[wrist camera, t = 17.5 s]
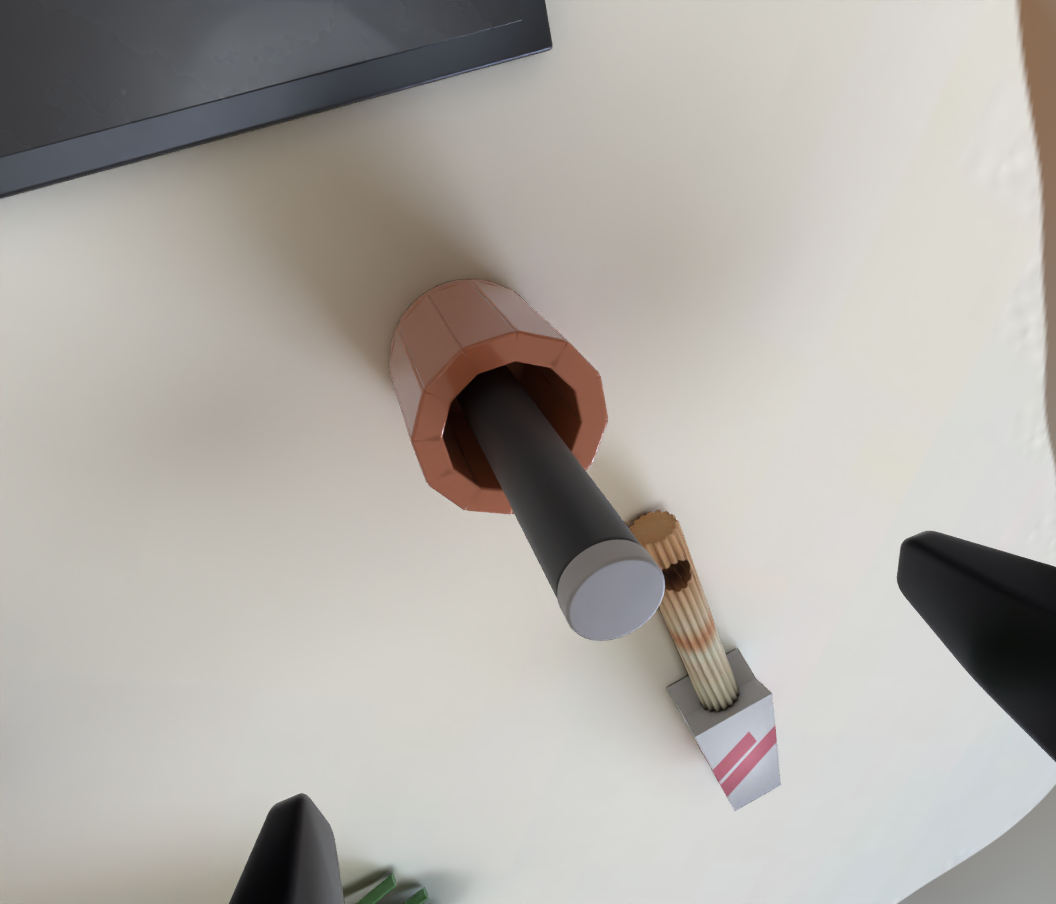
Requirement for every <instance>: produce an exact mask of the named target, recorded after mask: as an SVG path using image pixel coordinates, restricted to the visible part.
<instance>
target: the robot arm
mask: <svg viewBox="0 0 1056 904" xmlns="http://www.w3.org/2000/svg"><path fill="white" fill-rule="evenodd" d="M897 582H898V586H899V588H900V590H901V592H902V593H903V595H904V596H905V597H906V599H907V600H908V601H909V602H910V603H911V605H912V606H913V607H914V608H915V610H916V611H917V612H918V613H919V614H920V616H921V617H922V618H923V619H924V620H925V622H926V623H927V624H928V625H929V626H930V628H931V629H932V630H933V631H934V632H935V634H936V635H937V636H938V637H939V638H940V640H941V641H942V642H943V643H944V645H945V646H946V647H947V648H948V649H949V651H950V652H951V653H952V654H953V655H954V657H955V658H956V659H957V660H958V661H959V663H960V664H961V665H962V666H963V667H964V669H965V670H966V671H967V672H968V673H969V674H970V675H971V676H972V678H973V679H974V680H975V681H976V682H977V683H978V684H979V685H980V686H981V687H982V688H983V689H984V690H985V691H986V692H987V694H988V695H989V696H990V697H991V698H992V699H993V700H994V701H995V702H996V703H997V704H998V705H999V706H1000V707H1001V708H1002V709H1003V710H1004V711H1005V712H1006V713H1007V714H1008V715H1009V716H1010V717H1011V718H1012V719H1013V720H1014V721H1015V722H1016V723H1017V724H1018V725H1019V726H1020V727H1021V728H1022V729H1023V730H1024V731H1025V732H1026V733H1027V734H1028V735H1029V736H1030V737H1031V738H1032V739H1033V740H1034V741H1035V742H1036V743H1037V744H1038V745H1039V746H1040V747H1041V748H1042V749H1043V750H1044V751H1045V752H1046V753H1047V754H1048V755H1049V756H1050V757H1051V758H1052V759H1053V760H1054V761H1055V762H1056V567H1054V566H1051V565H1047V564H1044V563H1041V562H1037V561H1034V560H1031V559H1027V558H1024V557H1020V556H1017V555H1014V554H1010V553H1007V552H1004V551H1000V550H997V549H993V548H990V547H987V546H983V545H980V544H976V543H973V542H970V541H966V540H963V539H960V538H956V537H953V536H949V535H946V534H943V533H939V532H935V531H925V532H921V533H919V534H917V535H914V536H912V537H910V538H907V539H905V540H904V541H903V543H902V544H901V548H900V556H899V564H898V572H897ZM229 904H345V903H344V897H343V890H342V883H341V877H340V870H339V864H338V857H337V851H336V844H335V839H334V835H333V832H332V829H331V826H330V824H329V823H328V821H327V820H326V819H325V817H324V816H323V815H322V813H321V812H320V811H319V809H318V808H317V807H316V805H315V804H314V803H313V801H312V800H311V799H310V798H309V797H308V796H307V795H306V794H303V793H301V794H298V795H295V796H293V797H291V798H288V799H286V800H283V801H281V802H279V803H277V804H275V805H274V806H273V807H272V808H271V810H270V811H269V813H268V815H267V817H266V820H265V822H264V824H263V827H262V829H261V831H260V833H259V836H258V838H257V840H256V843H255V845H254V847H253V850H252V852H251V854H250V856H249V859H248V861H247V863H246V866H245V868H244V870H243V873H242V875H241V877H240V879H239V882H238V884H237V886H236V889H235V891H234V893H233V896H232V898H231V900H230V902H229Z"/></svg>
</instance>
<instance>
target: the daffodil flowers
mask: <svg viewBox="0 0 1056 904" xmlns="http://www.w3.org/2000/svg"><path fill="white" fill-rule="evenodd" d="M395 886H396V880H395V877H394V875H393V874H391V875H390V876H389V877H387V878H386V879H385V880H384V881H383V882H381V883H380V884H379V885H378V886H376V887H375V888H374V889H373V890H372V891H370V892H369V893H368V894H367V895H366V896H364V897H363V898H362V899H361V900H360V901H358V902H357V903H356V904H375V903H376V902H378V901H379V900H380V899H381V898H382V897H384V896H385V895H386V894H387V893H388V892H389V891H391V890H392V889H393V888H394V887H395ZM428 899H429V898H428V894H427V891H426V889H425V888H423V889H421V890H420V891H419V892H417V893H416V894H415V895H413V896H412V897H411V898H409V899H408V900H407V901H406V902H404V903H403V904H423V903H424V902H425V901H426V900H428Z"/></svg>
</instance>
